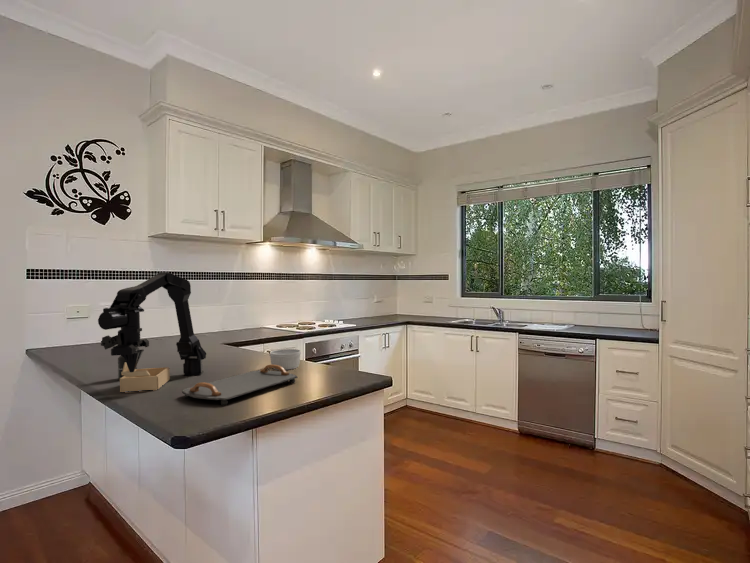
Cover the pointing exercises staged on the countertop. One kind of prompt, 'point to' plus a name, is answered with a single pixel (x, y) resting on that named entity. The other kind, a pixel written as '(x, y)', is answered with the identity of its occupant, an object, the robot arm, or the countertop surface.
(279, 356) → the ramekin
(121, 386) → the carton
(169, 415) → the countertop surface
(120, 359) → the supplement bottle
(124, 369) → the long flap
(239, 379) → the serving board
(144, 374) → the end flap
